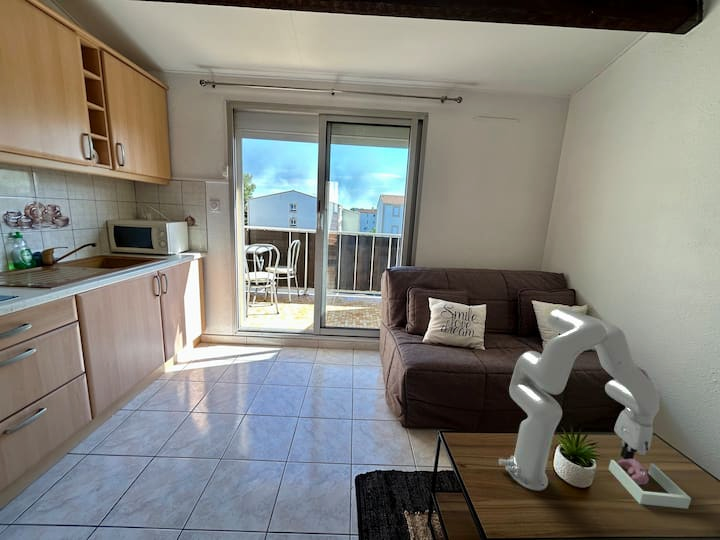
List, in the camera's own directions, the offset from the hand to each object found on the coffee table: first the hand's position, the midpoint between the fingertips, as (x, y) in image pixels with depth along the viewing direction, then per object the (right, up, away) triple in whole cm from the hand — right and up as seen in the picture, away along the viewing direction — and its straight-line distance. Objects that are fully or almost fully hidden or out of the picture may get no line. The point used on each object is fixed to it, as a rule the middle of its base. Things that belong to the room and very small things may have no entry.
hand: (626, 457), depth 109 cm
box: (-1, -5, -8) cm, 9 cm away
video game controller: (-3, -4, -5) cm, 7 cm away
